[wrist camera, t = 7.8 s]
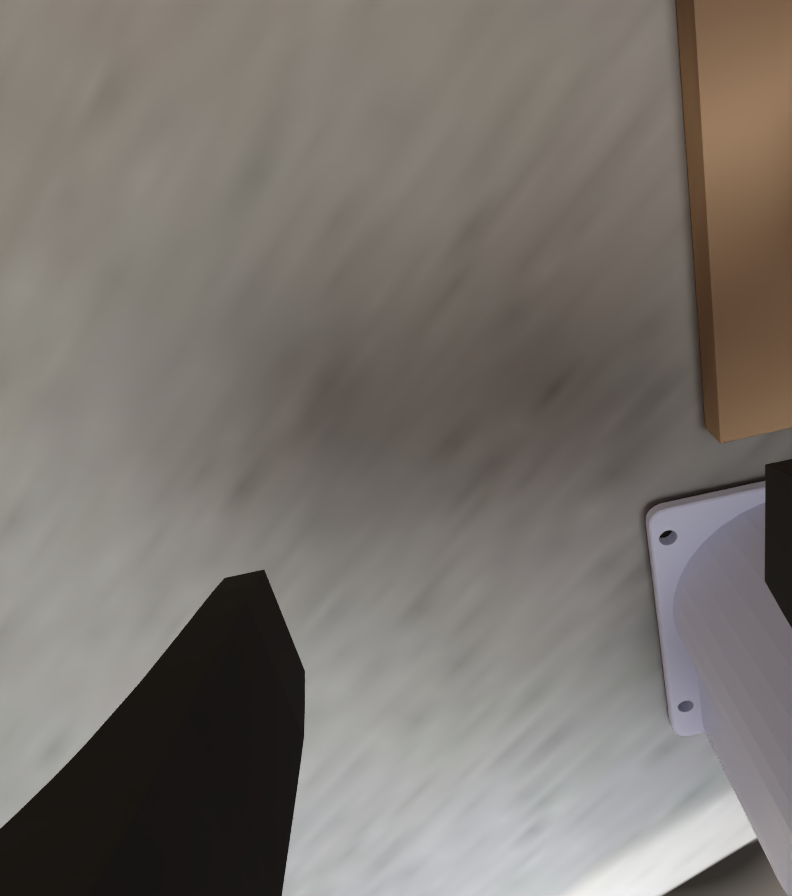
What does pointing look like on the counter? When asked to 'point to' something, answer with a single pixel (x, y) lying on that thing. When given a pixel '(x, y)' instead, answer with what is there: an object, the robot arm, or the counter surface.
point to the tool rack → (740, 206)
